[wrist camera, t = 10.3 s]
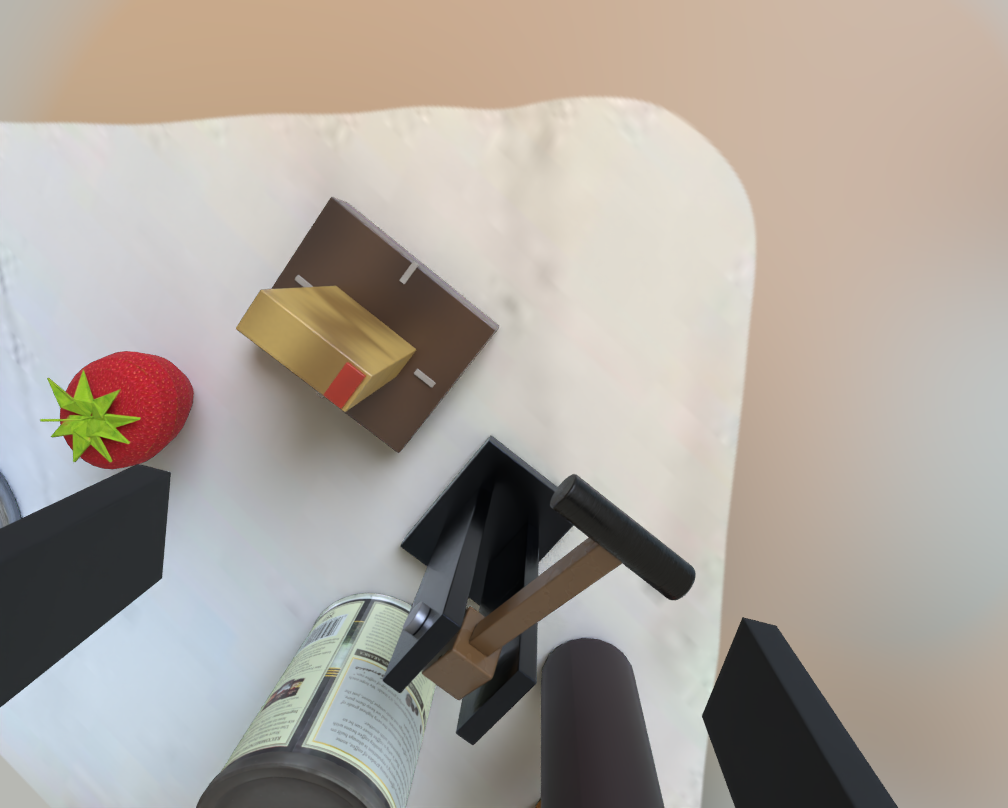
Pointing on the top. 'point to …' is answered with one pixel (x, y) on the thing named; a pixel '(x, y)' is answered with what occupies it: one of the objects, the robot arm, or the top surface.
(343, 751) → the coffee can
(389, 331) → the thumb turn
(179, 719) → the top surface
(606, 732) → the bottle
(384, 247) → the plate
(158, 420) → the strawberry
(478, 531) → the bracket
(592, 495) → the door handle
